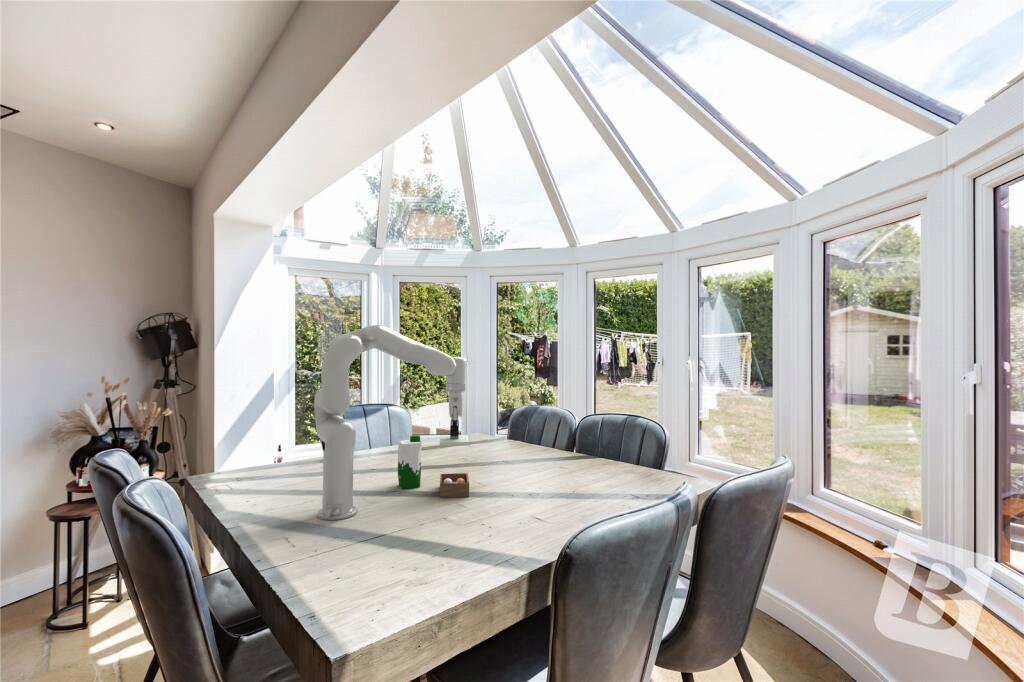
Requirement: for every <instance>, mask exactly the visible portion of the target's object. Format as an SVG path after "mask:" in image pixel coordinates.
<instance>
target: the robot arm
mask: <svg viewBox="0 0 1024 682" xmlns="http://www.w3.org/2000/svg"><path fill="white" fill-rule="evenodd" d="M328 349H329V350H328V351H327V353H326V354H325V356H324V358H323V361H322V364H321V388H319V389H318V390H317V391H316V393H315V396H314V402H313V404H314V405H313V406H314V419H315V429H316V434H317V437H318V438H319V439H320V440H321V442H323V443H325V444H324V451H323V458H322V501H321V502H322V503H321V504H322V508H320V509H319V510H317V512H316V516H317V518H319V519H320V520H324V521H325V520H326V521H337V520H338V521H339V520H344V519H348V518H351V517H353V516H355V515H356V514H357V513H358V507H357V506H355V505H353V504H354V503H353V501H354V500H353V499H354V498H353V497H354V496H353V495H354V457H355V456H354V454H355V445H356V441H357V440H356V439H357V432H356V428H355V426H354V424H352V422H350V421H349V420H348V419H345V418H344V414H345V413H346V412H347V411H348V410H349V408H350V407H351V394H350V391H351V390H350V383H349V382H350V381H349V380H350V379H349V373H350V372H349V371H350V366H351V365H352V363H353V361H355V359H357V358H359V356H360V355H361V354H362V353H364V352H367V351H370V350H372V349H376V350H378V351H380V352H383V353H385V354H387V355H389V356H391V357H394V358H396V359H397V360H399V361H402V362H406V363H409V364H414V365H418V366H419V365H420V366H422V367H425V371H426V372H427V373H428V374H430V375H433V376H443V377H445V379H446V380H445V392H447V393H448V414H449V418H450V424H451V425H450V424H449V425H450V426H449V427H450V428H449V435H450V436H458V435H459V434H460V433H459V432H460V431H459V430H460V428H459V427H460V424H459V425H458V420H459V417H460V418H463V401H464V400H463V393H465V392H466V373H467V371H466V367H467V366H466V365H467V364H466V363H467V362H466V357H464V356H450V355H449V354H447V353H445V352H443V351H441V350H439V349H436V348H435V347H431V346H429V345H426V344H423V343H421V342H419V341H416V340H414V339H412V338H409V337H407V336H405V335H403V334H401V333H399V331H398V332H397V331H396V330H394V329H391V328H390V327H388V326H385V325H382V324H375V325H369V326H364V327H361V328H360V329H359V328H358V329H356V330H353V331H349V332H346V333H342V334H338V335H336V336H335V337H333V338H332V339H331V341H330V342H329V346H328Z"/></svg>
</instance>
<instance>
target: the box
mask: <svg viewBox="0 0 1024 682" xmlns="http://www.w3.org/2000/svg"><path fill="white" fill-rule="evenodd" d="M447 478H449V479H451V480H452V483H445V484H443V482H444V480H445V479H447ZM459 478H462V479H464V480H465V483H453V482H456V481H457V479H459ZM469 478H470V477H469V474H468V473H467V472H464V473H462V472H461V473H440V476H439V498H465V497H467V498H468V497H470V479H469Z"/></svg>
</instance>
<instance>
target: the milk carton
mask: <svg viewBox="0 0 1024 682" xmlns="http://www.w3.org/2000/svg"><path fill="white" fill-rule="evenodd" d="M422 445H423V443H422V441H421V435H418V434H417V435H410V437H409V439H404V440H398V445H397V446H398V448H397V451H398V452H397V480H398V486H399V487H400V488H401V490H407V489H416V488H421V479H422V449H423V448H422Z"/></svg>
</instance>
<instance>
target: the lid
mask: <svg viewBox="0 0 1024 682" xmlns="http://www.w3.org/2000/svg"><path fill="white" fill-rule="evenodd" d="M449 425H451V423H450V424H449ZM458 425H459V426H460V420H459V419H458ZM439 446H470V440H469V437H468V434H467V435H465V434H464V435H461V434H460V435H458V436H450V434H448V435H447V434H446V435H445V434H444V435H440V436H439Z"/></svg>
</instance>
